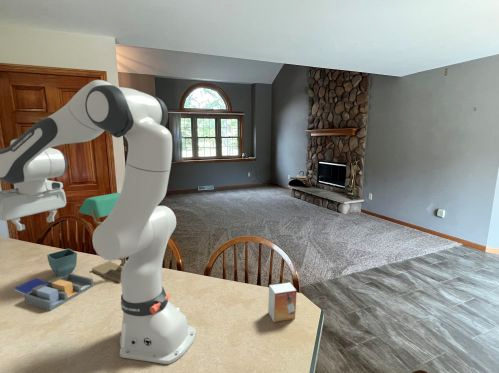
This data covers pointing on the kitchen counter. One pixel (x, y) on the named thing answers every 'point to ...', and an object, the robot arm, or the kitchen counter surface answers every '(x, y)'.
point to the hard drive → (29, 286)
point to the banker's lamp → (100, 208)
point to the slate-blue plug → (46, 293)
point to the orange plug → (61, 285)
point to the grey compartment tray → (78, 285)
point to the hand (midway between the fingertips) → (36, 225)
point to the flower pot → (63, 261)
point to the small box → (282, 302)
